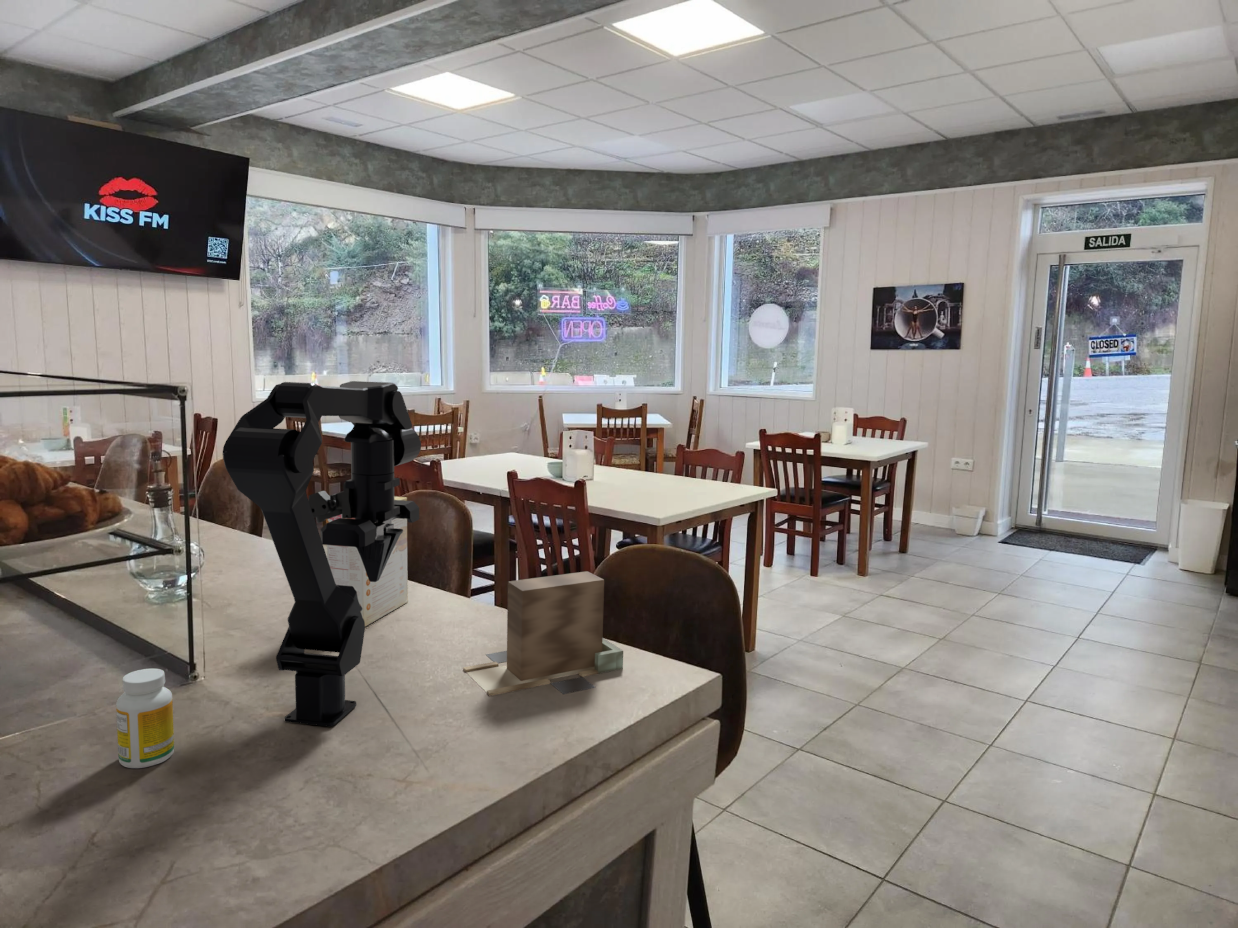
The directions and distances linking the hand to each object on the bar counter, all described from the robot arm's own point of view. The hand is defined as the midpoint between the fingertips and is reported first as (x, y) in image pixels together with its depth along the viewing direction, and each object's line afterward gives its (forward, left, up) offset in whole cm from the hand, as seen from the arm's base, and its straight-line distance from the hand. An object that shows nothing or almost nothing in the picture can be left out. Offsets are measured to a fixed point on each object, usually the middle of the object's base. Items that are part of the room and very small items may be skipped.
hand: (374, 581), depth 115 cm
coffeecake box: (+23, +12, -13) cm, 29 cm away
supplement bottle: (-29, +13, -13) cm, 34 cm away
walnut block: (+6, -25, -13) cm, 29 cm away
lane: (+5, -23, -13) cm, 27 cm away
